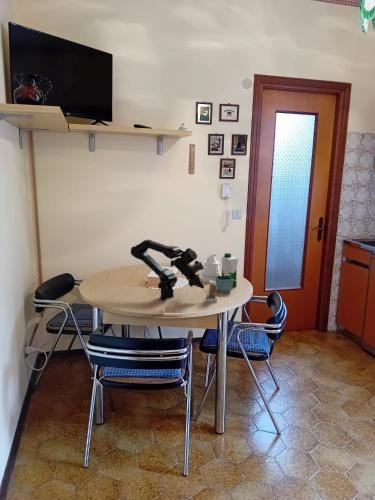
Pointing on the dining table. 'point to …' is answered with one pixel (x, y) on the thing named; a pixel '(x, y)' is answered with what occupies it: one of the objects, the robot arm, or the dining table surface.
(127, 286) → the dining table surface
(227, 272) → the milk carton
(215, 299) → the slate board
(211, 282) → the block
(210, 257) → the white rounded cone
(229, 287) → the flower pot
